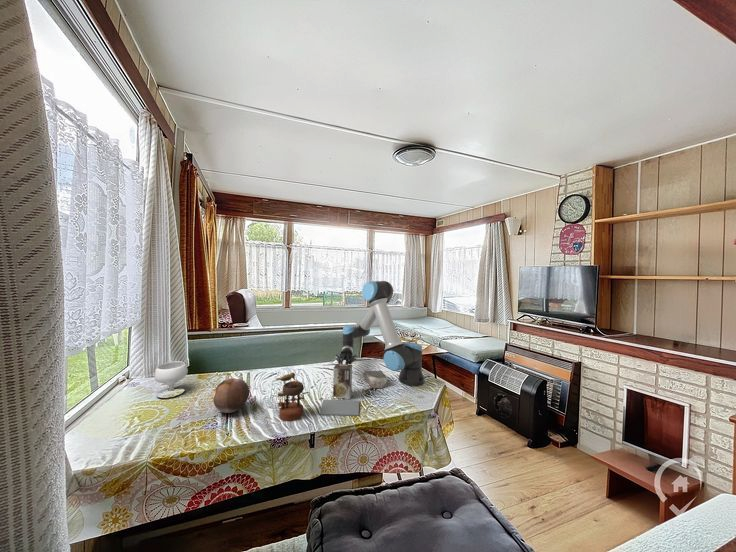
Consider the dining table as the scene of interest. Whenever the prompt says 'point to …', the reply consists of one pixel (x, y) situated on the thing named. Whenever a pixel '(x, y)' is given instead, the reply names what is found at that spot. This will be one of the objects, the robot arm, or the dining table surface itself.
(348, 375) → the coffee box
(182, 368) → the chalice
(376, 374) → the geological specimen
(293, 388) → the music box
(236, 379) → the wooden sphere
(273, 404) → the dining table surface
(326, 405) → the rubber mat
